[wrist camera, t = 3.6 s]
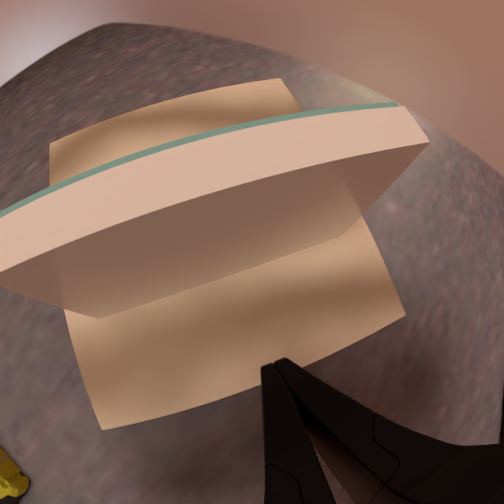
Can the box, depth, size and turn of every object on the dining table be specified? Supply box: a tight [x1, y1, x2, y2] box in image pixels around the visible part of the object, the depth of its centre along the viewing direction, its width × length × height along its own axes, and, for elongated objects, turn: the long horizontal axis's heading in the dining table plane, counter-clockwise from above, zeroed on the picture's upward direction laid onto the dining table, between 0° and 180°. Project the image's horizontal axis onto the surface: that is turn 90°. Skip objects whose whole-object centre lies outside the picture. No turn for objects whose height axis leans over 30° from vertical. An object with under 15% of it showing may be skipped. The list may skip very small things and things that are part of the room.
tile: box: [0, 102, 430, 319], centre depth 11 cm, size 2×14×9 cm, turn 111°
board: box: [49, 78, 406, 430], centre depth 17 cm, size 19×18×1 cm
